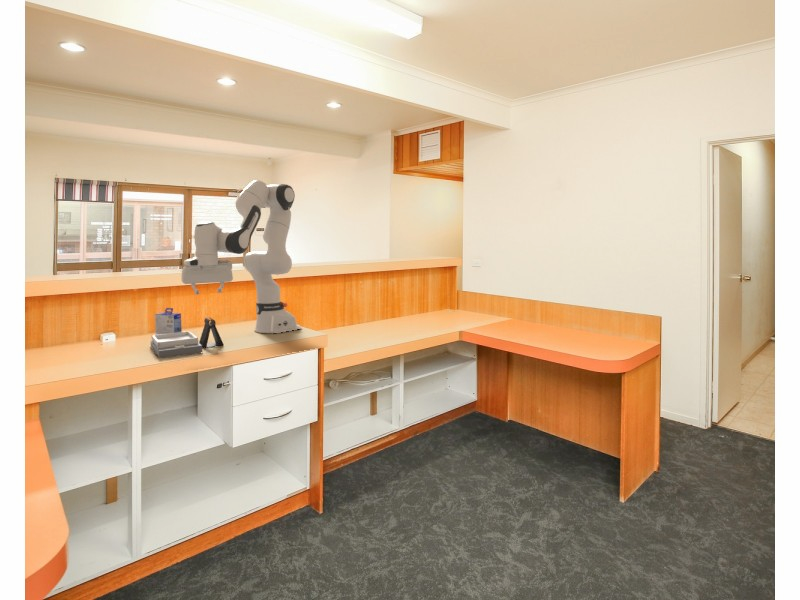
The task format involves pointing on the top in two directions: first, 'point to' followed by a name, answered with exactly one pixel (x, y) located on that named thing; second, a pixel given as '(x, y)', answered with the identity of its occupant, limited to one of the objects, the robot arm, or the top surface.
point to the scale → (175, 344)
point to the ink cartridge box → (168, 322)
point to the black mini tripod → (206, 332)
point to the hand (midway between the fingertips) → (208, 293)
